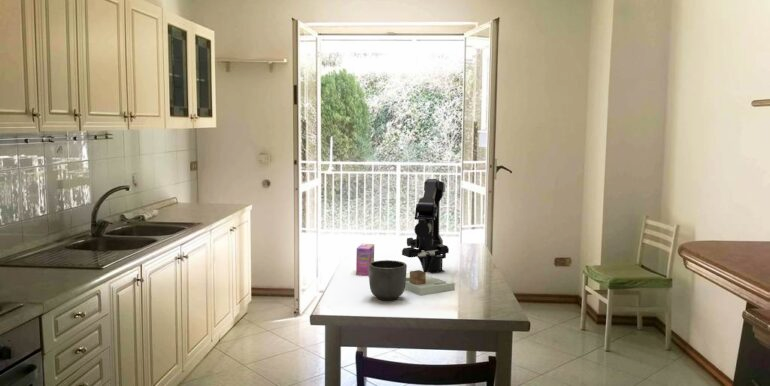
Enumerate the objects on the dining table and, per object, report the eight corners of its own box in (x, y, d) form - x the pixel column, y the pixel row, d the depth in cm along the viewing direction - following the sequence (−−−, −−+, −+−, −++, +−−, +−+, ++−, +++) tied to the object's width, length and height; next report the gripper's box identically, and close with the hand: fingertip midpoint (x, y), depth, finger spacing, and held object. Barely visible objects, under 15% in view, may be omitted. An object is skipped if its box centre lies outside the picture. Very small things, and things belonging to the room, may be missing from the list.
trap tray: (419, 276, 261) (419, 269, 260) (454, 290, 239) (454, 283, 239) (386, 280, 253) (386, 274, 252) (420, 295, 231) (420, 288, 231)
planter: (379, 305, 217) (379, 270, 216) (362, 296, 229) (362, 262, 228) (413, 301, 223) (413, 266, 222) (395, 291, 236) (395, 258, 234)
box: (369, 275, 261) (369, 248, 260) (356, 275, 262) (356, 247, 261) (374, 270, 271) (374, 244, 270) (361, 269, 273) (361, 243, 271)
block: (419, 281, 244) (419, 270, 244) (425, 283, 240) (425, 272, 240) (409, 282, 242) (409, 271, 242) (415, 285, 238) (416, 273, 238)
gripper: (433, 228, 253) (433, 265, 255) (394, 231, 244) (394, 270, 245) (449, 232, 243) (449, 271, 245) (409, 236, 234) (409, 276, 236)
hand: (425, 272), depth 243 cm, fingers closed
